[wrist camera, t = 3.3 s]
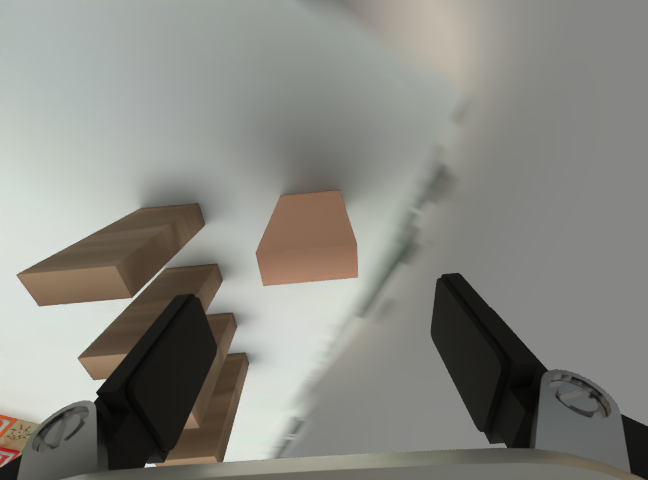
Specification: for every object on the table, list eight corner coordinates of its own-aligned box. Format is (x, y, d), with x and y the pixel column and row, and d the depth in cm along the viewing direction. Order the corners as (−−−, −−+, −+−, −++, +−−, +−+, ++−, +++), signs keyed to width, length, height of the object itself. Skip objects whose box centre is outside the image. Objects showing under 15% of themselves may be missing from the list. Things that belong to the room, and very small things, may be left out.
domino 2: (165, 268, 24) (77, 358, 15) (217, 263, 24) (159, 350, 15) (172, 285, 25) (93, 380, 16) (222, 281, 25) (171, 373, 16)
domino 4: (202, 356, 30) (152, 461, 21) (245, 352, 30) (214, 456, 21) (207, 368, 30) (162, 473, 22) (248, 364, 30) (221, 468, 21)
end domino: (280, 195, 22) (255, 252, 13) (339, 190, 22) (356, 243, 13) (284, 217, 22) (263, 285, 14) (340, 212, 22) (357, 277, 13)
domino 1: (139, 208, 22) (16, 274, 13) (198, 203, 22) (115, 266, 13) (148, 230, 23) (39, 306, 14) (204, 225, 23) (132, 297, 14)
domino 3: (185, 316, 27) (120, 417, 18) (232, 312, 27) (190, 411, 18) (191, 330, 28) (132, 433, 19) (237, 326, 28) (199, 427, 19)
